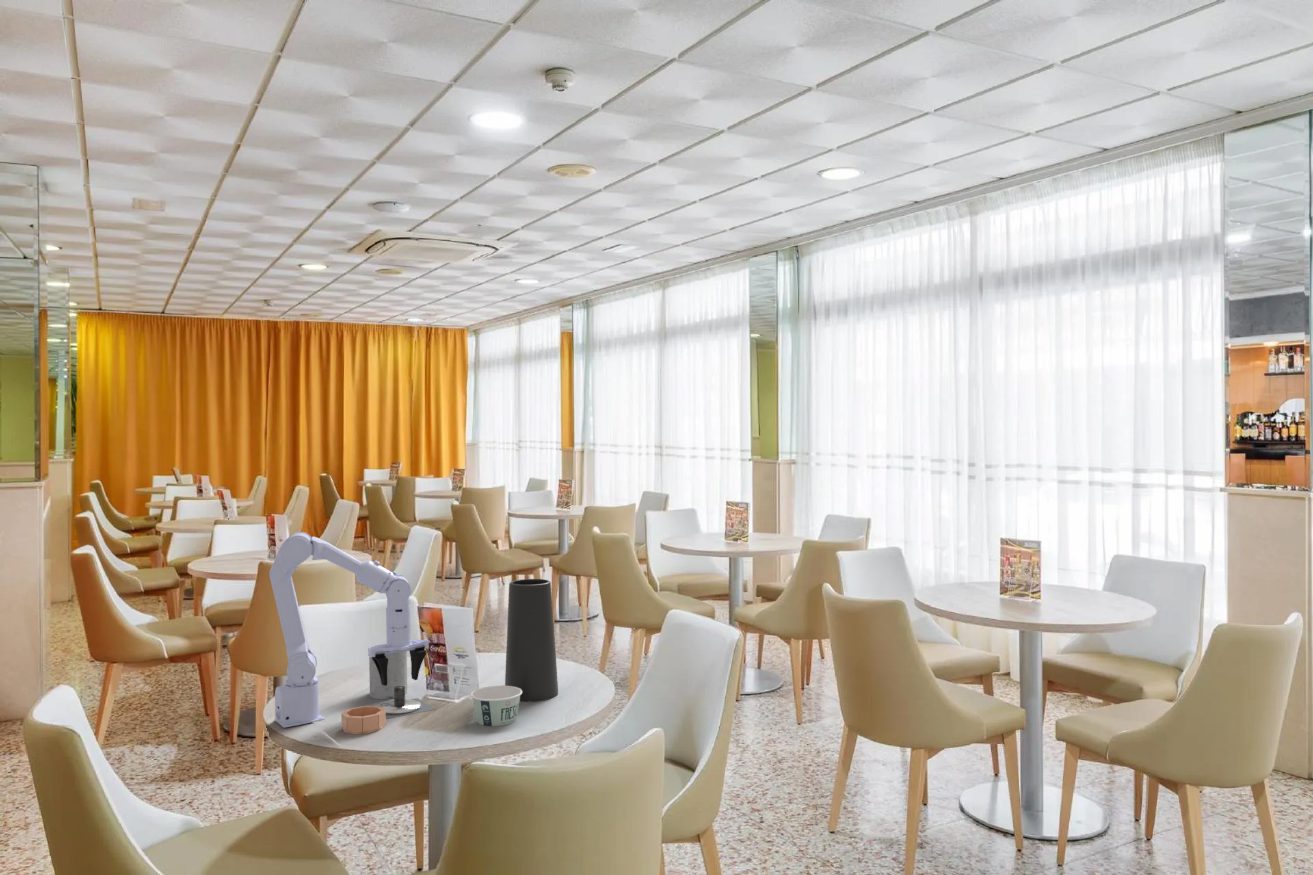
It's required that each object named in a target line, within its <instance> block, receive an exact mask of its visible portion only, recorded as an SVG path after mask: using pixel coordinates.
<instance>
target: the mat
mask: <svg viewBox="0 0 1313 875" xmlns="http://www.w3.org/2000/svg"><path fill="white" fill-rule="evenodd" d="M409 700H416V701H419V702H420V703H421V708H420V709H419V710H417V711H415V712H411V713H407V714H400V715H387V714H386V720H388V719H394V718H395V719H396V718H399V717H404V716H410V715H415V714H419V713H423V712H424V713H425V712H429V711H435V710H437V708H436V707H434V706H433V705H431V704H429V703H427V702H425V701H424V700H422V699H420V698H418V697H416V698H411V699H409ZM379 705H380V704H379ZM379 705H378V704H377V706H379Z"/></svg>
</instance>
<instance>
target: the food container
mask: <svg viewBox="0 0 1313 875" xmlns="http://www.w3.org/2000/svg"><path fill="white" fill-rule="evenodd" d="M521 694H522V690H521V689H520V688H517V687H513V686H505V685H489V686H484V687H480V688H478V689H477V688H476V689H475V690H473V691H471V693H470V697H471V698H472V701H473V707H474V713H475V718H476V723H477V724H478V725H481V726H484V727H485V726H487V727H500V726H507V725H510V724H513V723H515V722H516V721H517V719H518V713H519V704H520V702H521V701H520V695H521Z"/></svg>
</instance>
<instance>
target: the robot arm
mask: <svg viewBox="0 0 1313 875" xmlns="http://www.w3.org/2000/svg"><path fill="white" fill-rule="evenodd" d="M311 556H312V558H311V561H316V560H326V561H328V562H330V563H332V564H335V565H336V566H339V567H340V568H343V569H345V570H347V571H348V572H351V573H353V574H355V578H356V581H357V582H358V583H359V584H362V585H364V586H365V587H368V588H370V589H372V590H373V591H375V592H377V593H379V594H385V596H386V604H387V605H386V609H385V615H386V616H385V618H386V621H385V623H386V626H385V627H386V630H385V631H386V643H384V645H381V644H379V645H380V646H376V645H375V646H376V647H373V646H371V647H372V648H370V647H368V649H367V650H368V657H369V656H370V657H372V660H373V661H374V663H375V665H376V667H377V670H378V672H379V675H380V679H381V684H382V685H384V686H386V685H387V682H388V681H387V666H388V658H386V656H385V654H391V653H398V652H404V651H407V652H409V656H410V663H411V664H410V673H411V679H412V680H413V681H417V680H418V679H419V673H420V669H421V667H422V664H423V661H424V659H425V657H426V656H427V649H429V648H430V647H429V640H428V639H426V638H424V639H415V640H412V632H411V631H412V626H411V625H412V624H411V619H412V618H411V606H410V603H411V600H410V597H411V594H412V589H411V586H410V583H409V581H408V579H406V578H405V577H404V576H403V575H401V574H398V572H397V571H396V570H393V571H391V570H389V569H388V568H385V567H383V566H382V565H381V562H379V561H378V560H374V561H372V560H365V561H360V560H359V559H357V558H355V557H354V556H352V555H350V554H348V553H347V552H345V551H344V550H342V549H340V548H339V547H336V546H335V545H333V544H331V543H329V542H328V541H326V540H324V539H321V538H319V537H316V536H311V535H310V534H309V533H308V532H304V531H296V532H293V533H291V534H290V535H289V536H288V537H287V538H286V539H285V541H283V543H281V546H280V547H279V549H278V550H277V554H276V555H275V558H274V560H273V563H272V565H271V567H270V570H269V573H268V574H269V580H270V583H271V588H272V592H273V596H274V600H275V604H276V610H277V612H278V618H279V622H280V626H281V630H282V635H283V639H284V643H285V649H286V657H287V661H288V664H287V669H286V677H287V679H286V680H285V684H283V685H280V686H277V687H276V688H275V691H274V722H276V723H277V724H278V725H280V726H281V727H282V728H283V729H284V728H285V729H286V728H290V727H295V726H300V725H306V724H312V723H314V722H319V721H325V720H326V719H325V717H324V716H323V715H321V714H320V708H319V706H320V703H319V701H320V700H319V698H320V697H319V696H320V695H319V694H320V693H319V692H320V691H319V677H317V676H316V673H317V672H316V670H317V669H316V668H317V664H318V663H317V662H318V661H317V657H316V655H315V654H314V653H313V652H312V651H311V649H310V645H309V642H308V639H307V636H306V632H305V628H304V623H303V620H302V615H301V610H300V607H299V603H298V598H297V593H296V590H295V584H294V581H293V577H292V575H293V574H294V573H295V572H296V570H297V568H298V566H300V565H302V564H303V563H304V562H305V561H307V560H308V559H309V557H311Z"/></svg>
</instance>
